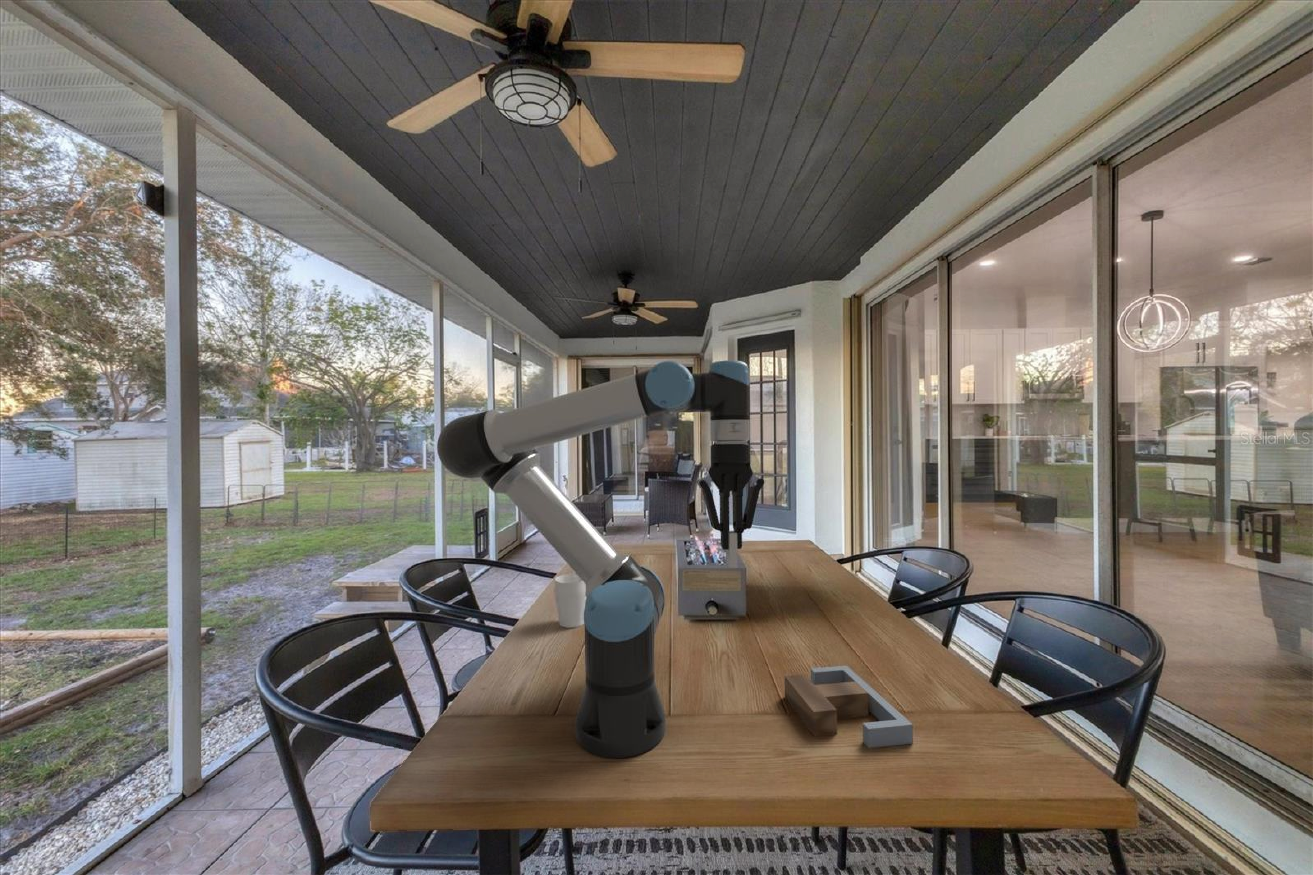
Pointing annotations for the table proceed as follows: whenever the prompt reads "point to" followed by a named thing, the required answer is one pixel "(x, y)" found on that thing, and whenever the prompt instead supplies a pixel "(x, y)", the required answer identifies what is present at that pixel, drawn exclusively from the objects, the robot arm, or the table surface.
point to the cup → (570, 600)
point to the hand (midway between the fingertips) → (731, 565)
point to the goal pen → (890, 723)
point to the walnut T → (825, 702)
